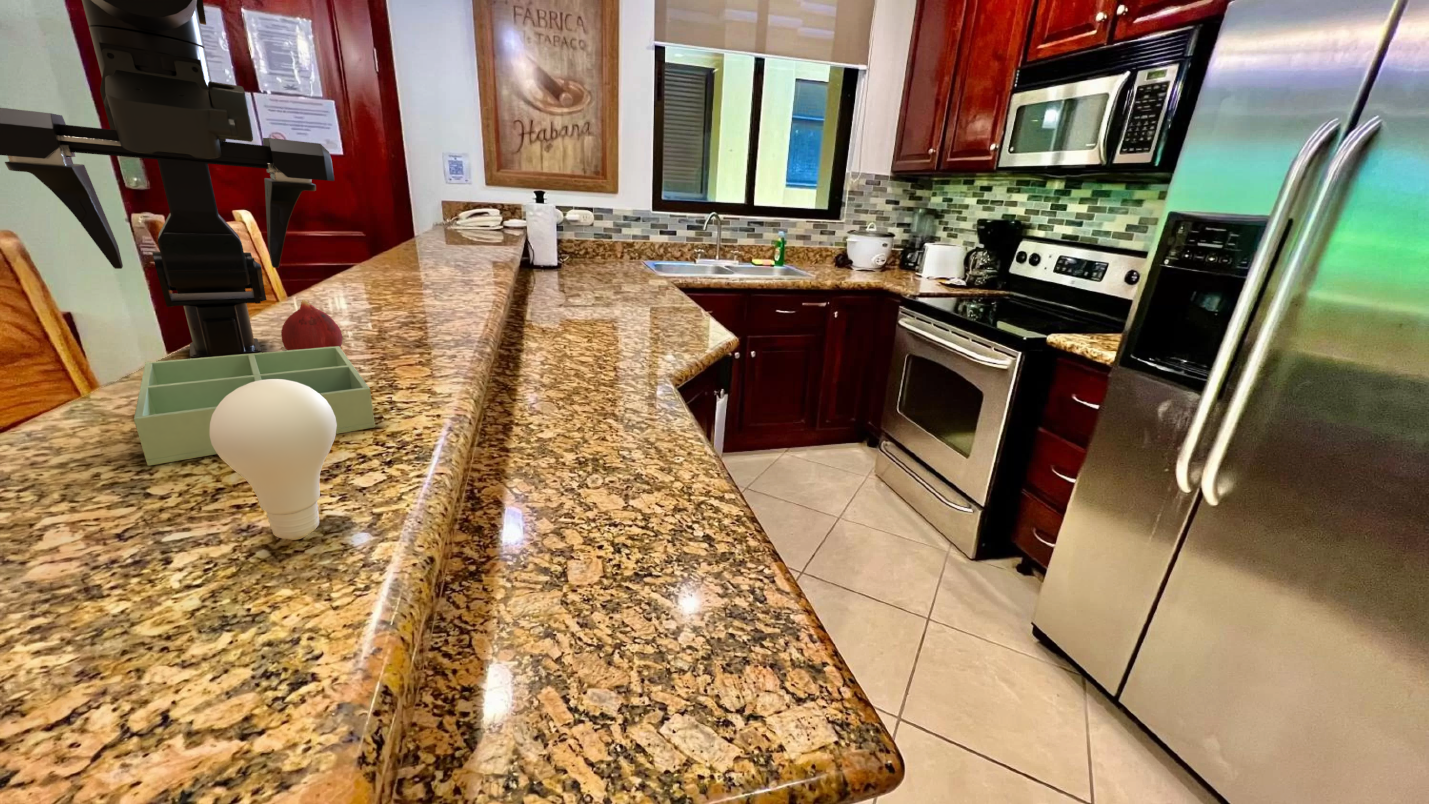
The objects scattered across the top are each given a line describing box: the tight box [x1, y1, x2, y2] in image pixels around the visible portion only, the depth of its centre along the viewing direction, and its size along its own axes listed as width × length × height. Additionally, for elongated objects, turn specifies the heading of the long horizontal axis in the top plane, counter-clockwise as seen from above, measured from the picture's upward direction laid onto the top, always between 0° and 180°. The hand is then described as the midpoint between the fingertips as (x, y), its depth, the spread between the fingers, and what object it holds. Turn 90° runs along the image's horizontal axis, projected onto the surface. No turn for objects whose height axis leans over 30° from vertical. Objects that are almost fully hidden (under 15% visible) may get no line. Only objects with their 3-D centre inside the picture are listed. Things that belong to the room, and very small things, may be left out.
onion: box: [280, 299, 343, 351], centre depth 65 cm, size 6×6×8 cm
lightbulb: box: [210, 379, 337, 541], centre depth 35 cm, size 6×6×11 cm
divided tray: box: [133, 346, 376, 467], centre depth 52 cm, size 16×16×4 cm
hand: (202, 267), depth 44 cm, fingers open, 9 cm apart
